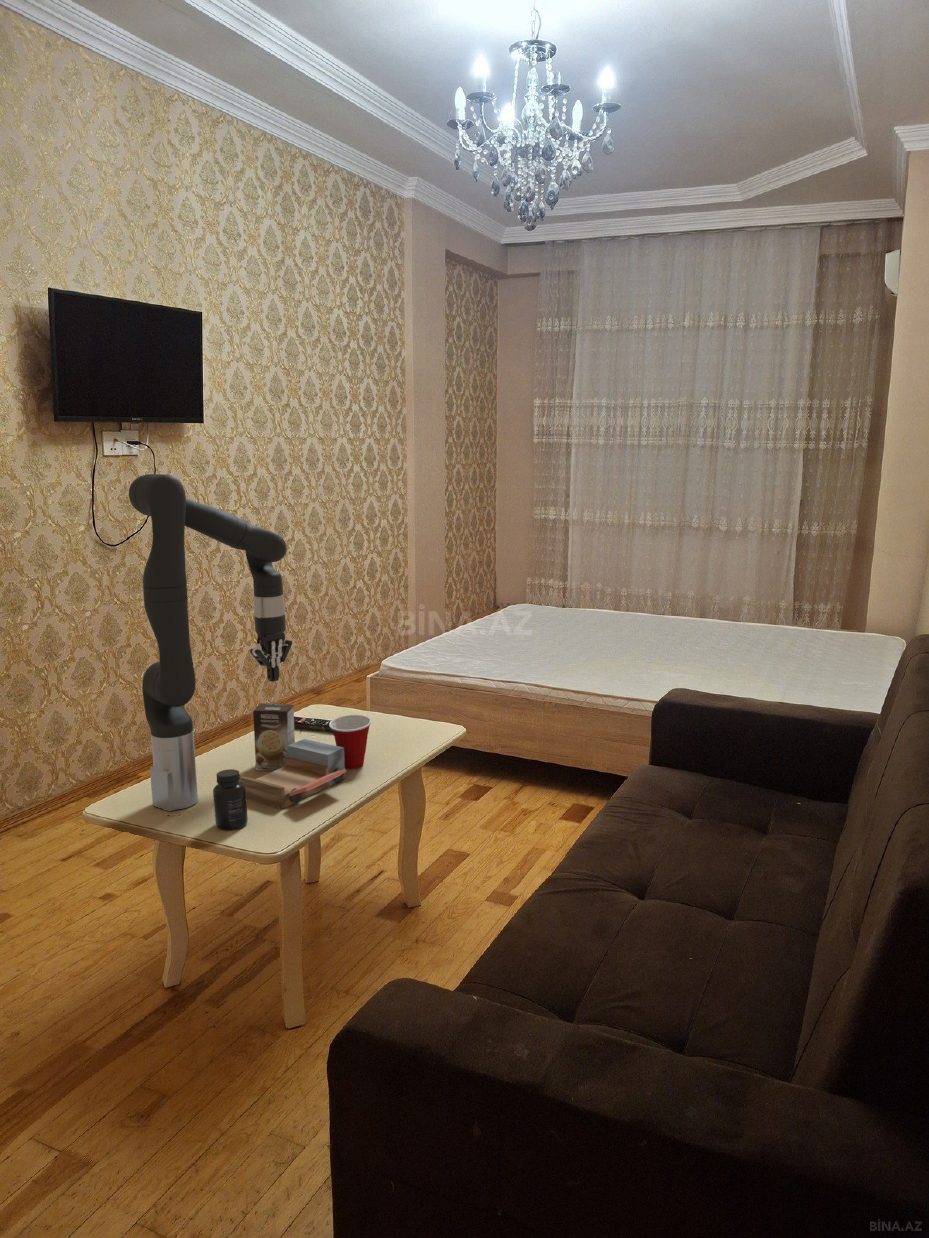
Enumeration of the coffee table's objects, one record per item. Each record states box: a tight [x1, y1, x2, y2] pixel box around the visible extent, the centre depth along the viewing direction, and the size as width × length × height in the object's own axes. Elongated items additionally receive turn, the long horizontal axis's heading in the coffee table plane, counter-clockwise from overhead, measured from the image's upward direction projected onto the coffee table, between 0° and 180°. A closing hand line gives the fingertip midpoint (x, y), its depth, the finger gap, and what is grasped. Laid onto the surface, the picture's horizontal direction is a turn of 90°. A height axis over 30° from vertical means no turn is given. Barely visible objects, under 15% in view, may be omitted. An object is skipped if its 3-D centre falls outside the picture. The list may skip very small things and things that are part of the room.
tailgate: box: [289, 768, 347, 796], centre depth 207 cm, size 14×1×6 cm
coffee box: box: [252, 702, 296, 772], centre depth 229 cm, size 9×6×16 cm
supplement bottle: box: [212, 768, 248, 832], centre depth 195 cm, size 7×7×12 cm
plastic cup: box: [328, 714, 372, 770], centre depth 230 cm, size 11×11×12 cm
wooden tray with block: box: [240, 738, 346, 810], centre depth 215 cm, size 22×14×8 cm, turn 147°
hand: (273, 680), depth 225 cm, fingers closed
